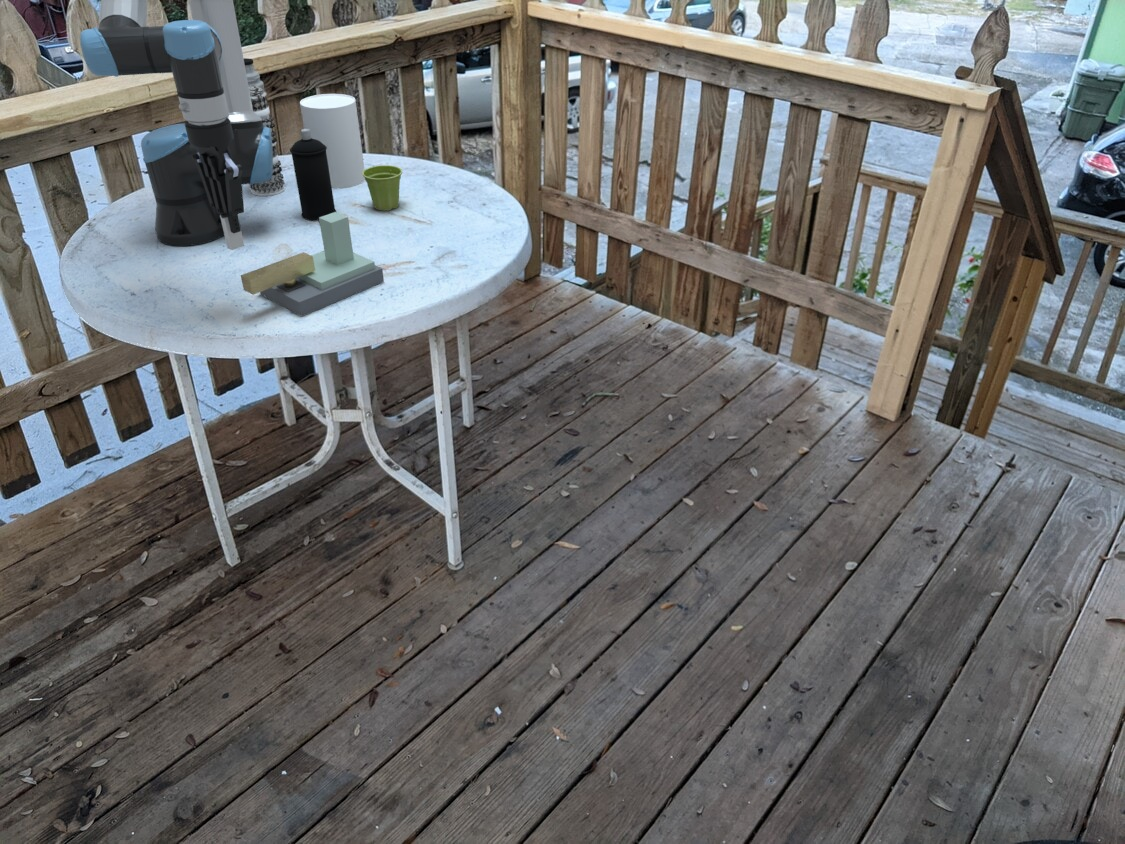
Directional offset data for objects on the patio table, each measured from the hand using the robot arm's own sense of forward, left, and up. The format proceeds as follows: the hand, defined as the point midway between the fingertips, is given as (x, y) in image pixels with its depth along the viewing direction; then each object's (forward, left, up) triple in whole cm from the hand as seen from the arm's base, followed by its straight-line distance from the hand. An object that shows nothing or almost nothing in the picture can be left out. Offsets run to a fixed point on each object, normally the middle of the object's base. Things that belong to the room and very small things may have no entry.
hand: (236, 246), depth 161 cm
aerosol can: (-27, +36, -12) cm, 47 cm away
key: (+6, +4, -8) cm, 11 cm away
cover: (+6, +16, -8) cm, 19 cm away
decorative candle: (-50, +37, -12) cm, 63 cm away
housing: (+6, +13, -11) cm, 19 cm away
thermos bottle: (-64, +45, -12) cm, 79 cm away
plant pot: (-19, +50, -12) cm, 55 cm away
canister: (-43, +54, -12) cm, 70 cm away
